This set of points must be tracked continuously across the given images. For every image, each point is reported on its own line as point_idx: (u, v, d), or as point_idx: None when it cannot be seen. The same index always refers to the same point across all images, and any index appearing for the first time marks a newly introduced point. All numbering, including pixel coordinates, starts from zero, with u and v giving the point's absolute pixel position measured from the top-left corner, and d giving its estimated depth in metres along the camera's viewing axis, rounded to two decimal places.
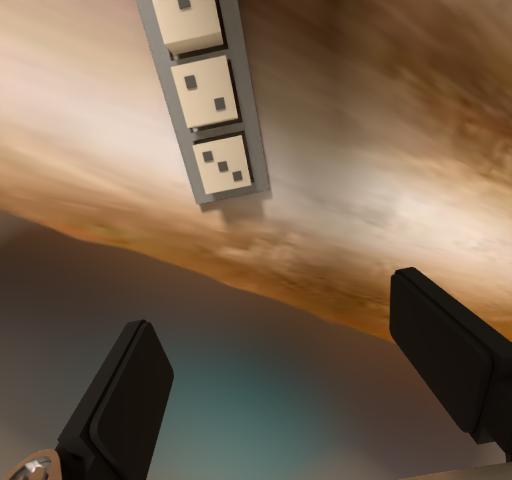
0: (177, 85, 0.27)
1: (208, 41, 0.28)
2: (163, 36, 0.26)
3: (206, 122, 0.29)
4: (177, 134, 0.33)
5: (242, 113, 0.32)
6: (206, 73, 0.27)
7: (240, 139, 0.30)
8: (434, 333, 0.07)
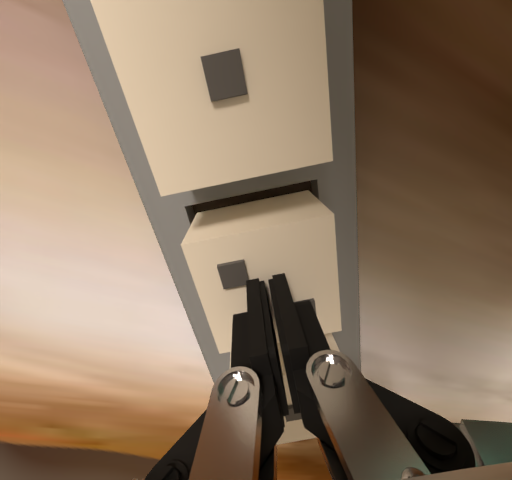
0: (198, 281, 0.10)
1: None
2: (158, 177, 0.08)
3: None
4: (190, 314, 0.16)
5: None
6: (277, 253, 0.10)
7: None
8: None
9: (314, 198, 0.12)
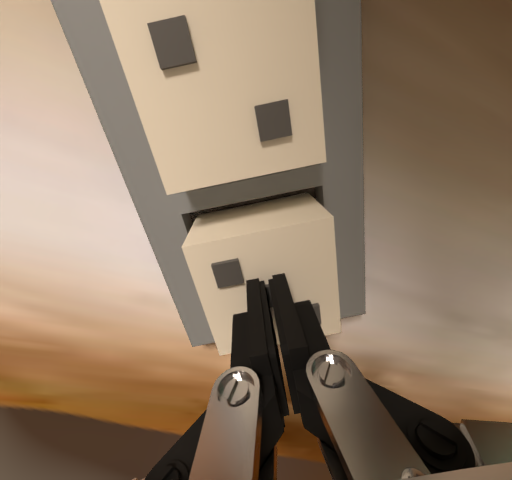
0: (125, 57, 0.08)
1: None
2: None
3: (226, 179, 0.09)
4: (137, 199, 0.12)
5: None
6: (232, 9, 0.07)
7: (328, 227, 0.10)
8: None
9: None
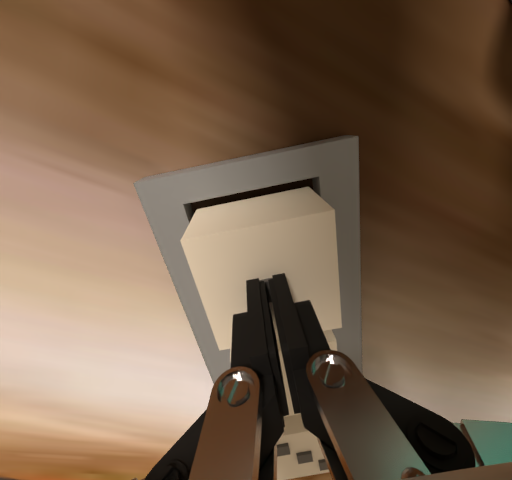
0: None
1: None
2: (218, 340, 0.12)
3: None
4: None
5: None
6: None
7: None
8: None
9: None
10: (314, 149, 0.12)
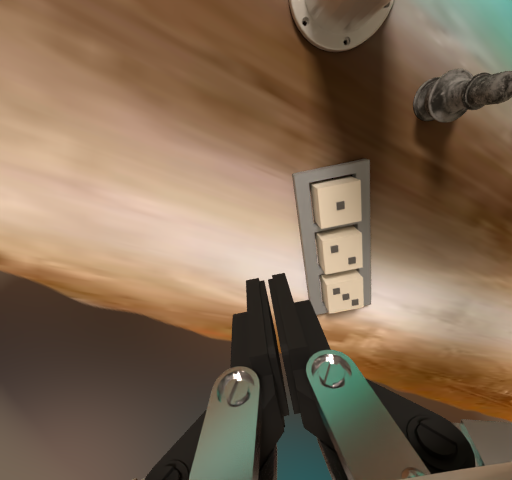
0: (324, 251, 0.38)
1: None
2: (321, 224, 0.36)
3: (339, 271, 0.40)
4: (307, 271, 0.42)
5: None
6: (346, 243, 0.38)
7: (361, 280, 0.41)
8: None
9: (354, 227, 0.40)
10: (355, 164, 0.36)
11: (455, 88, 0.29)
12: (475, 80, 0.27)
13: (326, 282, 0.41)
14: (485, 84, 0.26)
